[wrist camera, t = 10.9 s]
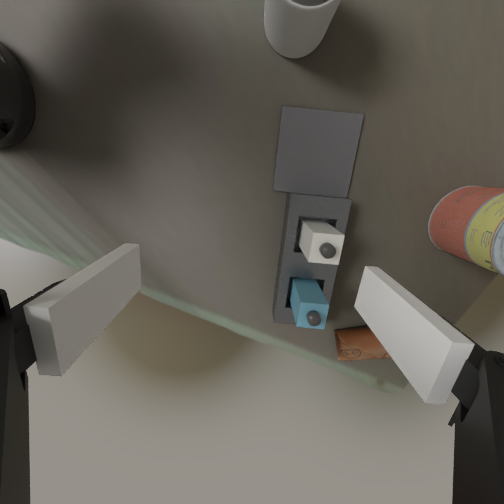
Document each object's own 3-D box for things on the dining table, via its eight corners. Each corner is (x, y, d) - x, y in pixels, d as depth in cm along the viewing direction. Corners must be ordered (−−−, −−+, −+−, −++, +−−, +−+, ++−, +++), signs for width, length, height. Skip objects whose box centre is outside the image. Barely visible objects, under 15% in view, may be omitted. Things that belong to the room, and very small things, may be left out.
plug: (288, 293, 45) (298, 331, 34) (291, 273, 44) (302, 306, 33) (309, 295, 45) (326, 334, 34) (313, 275, 44) (331, 309, 33)
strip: (319, 314, 47) (324, 326, 43) (272, 310, 47) (273, 322, 43) (343, 197, 40) (352, 199, 36) (287, 191, 40) (291, 193, 36)
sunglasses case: (337, 363, 50) (345, 372, 44) (329, 327, 52) (336, 331, 45) (428, 349, 49) (450, 356, 42) (417, 313, 50) (437, 315, 44)
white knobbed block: (296, 241, 42) (310, 265, 31) (300, 218, 41) (315, 234, 30) (319, 243, 42) (341, 268, 31) (324, 220, 41) (348, 237, 30)
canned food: (426, 257, 43) (487, 289, 32) (428, 192, 40) (498, 201, 28) (494, 246, 42) (582, 274, 31) (503, 179, 39) (605, 182, 27)
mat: (272, 190, 40) (272, 190, 39) (282, 106, 36) (282, 105, 36) (346, 197, 40) (346, 197, 40) (363, 114, 36) (364, 113, 36)
